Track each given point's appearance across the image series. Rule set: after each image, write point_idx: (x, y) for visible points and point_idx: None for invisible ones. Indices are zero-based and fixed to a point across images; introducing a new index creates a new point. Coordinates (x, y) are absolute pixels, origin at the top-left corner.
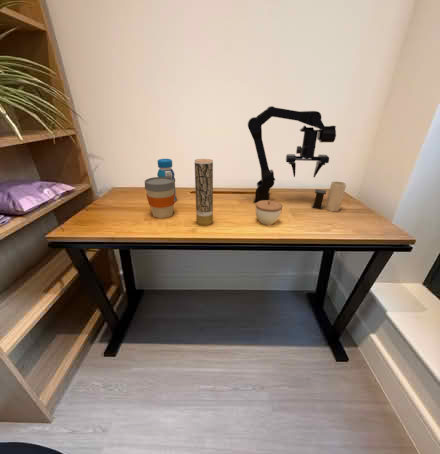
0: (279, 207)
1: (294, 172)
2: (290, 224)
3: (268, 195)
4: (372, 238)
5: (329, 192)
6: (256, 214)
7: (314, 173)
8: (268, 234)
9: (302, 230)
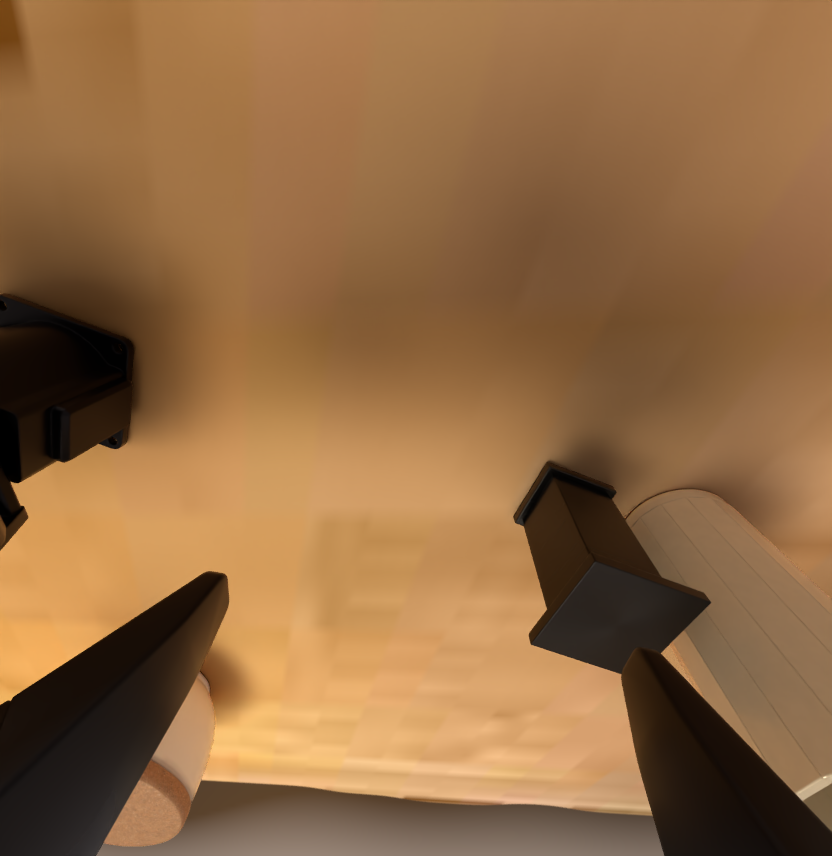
0: (166, 838)
1: (139, 741)
2: (293, 706)
3: (73, 456)
4: (624, 806)
5: (699, 660)
6: None
7: (664, 775)
8: None
9: (342, 748)
